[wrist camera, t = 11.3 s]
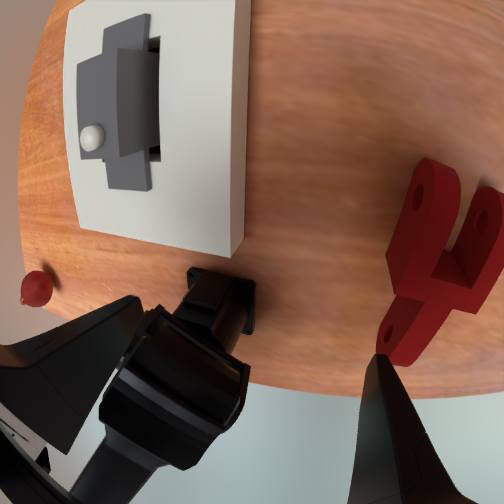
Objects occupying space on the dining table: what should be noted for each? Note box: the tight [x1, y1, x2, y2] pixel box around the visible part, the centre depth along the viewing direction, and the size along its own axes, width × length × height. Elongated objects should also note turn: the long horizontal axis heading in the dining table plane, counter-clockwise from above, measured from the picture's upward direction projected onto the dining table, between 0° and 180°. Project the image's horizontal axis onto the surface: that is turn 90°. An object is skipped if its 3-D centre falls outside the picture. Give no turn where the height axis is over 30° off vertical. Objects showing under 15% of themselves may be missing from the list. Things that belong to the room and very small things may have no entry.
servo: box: [76, 13, 160, 192], centre depth 15 cm, size 13×4×7 cm, turn 178°
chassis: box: [63, 0, 251, 258], centre depth 17 cm, size 22×16×3 cm
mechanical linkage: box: [376, 158, 504, 367], centre depth 16 cm, size 16×7×5 cm, turn 173°
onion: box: [19, 271, 53, 307], centre depth 33 cm, size 6×6×8 cm
